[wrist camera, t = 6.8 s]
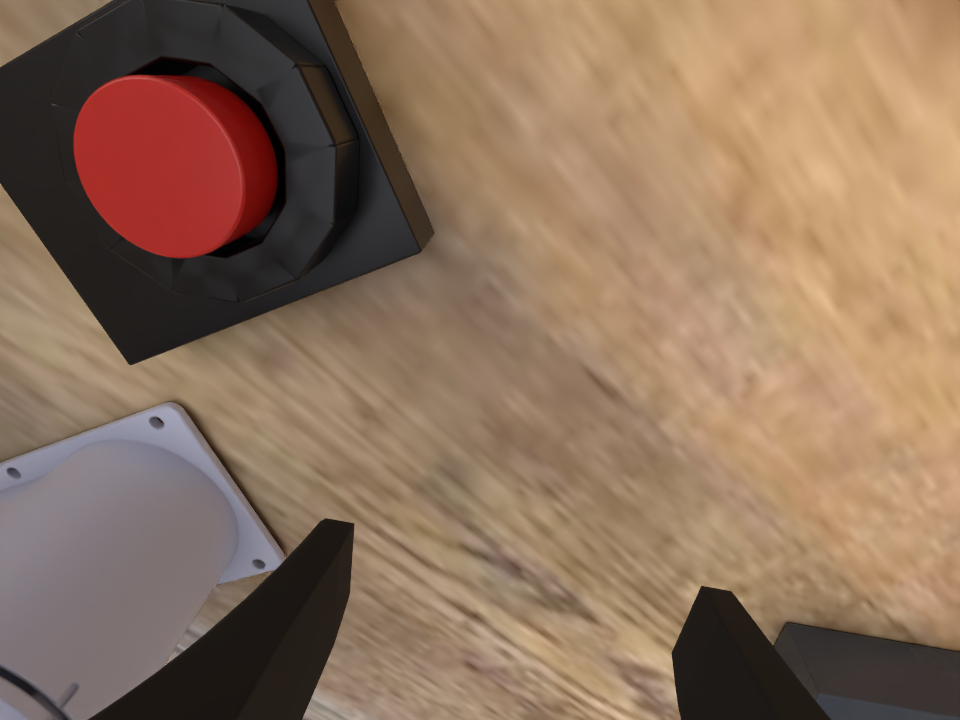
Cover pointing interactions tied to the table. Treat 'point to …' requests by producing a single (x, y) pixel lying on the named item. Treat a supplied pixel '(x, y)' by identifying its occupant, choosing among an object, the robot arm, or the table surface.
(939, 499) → the table surface
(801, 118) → the table surface
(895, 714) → the panel
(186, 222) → the red button
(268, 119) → the button box
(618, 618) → the table surface
